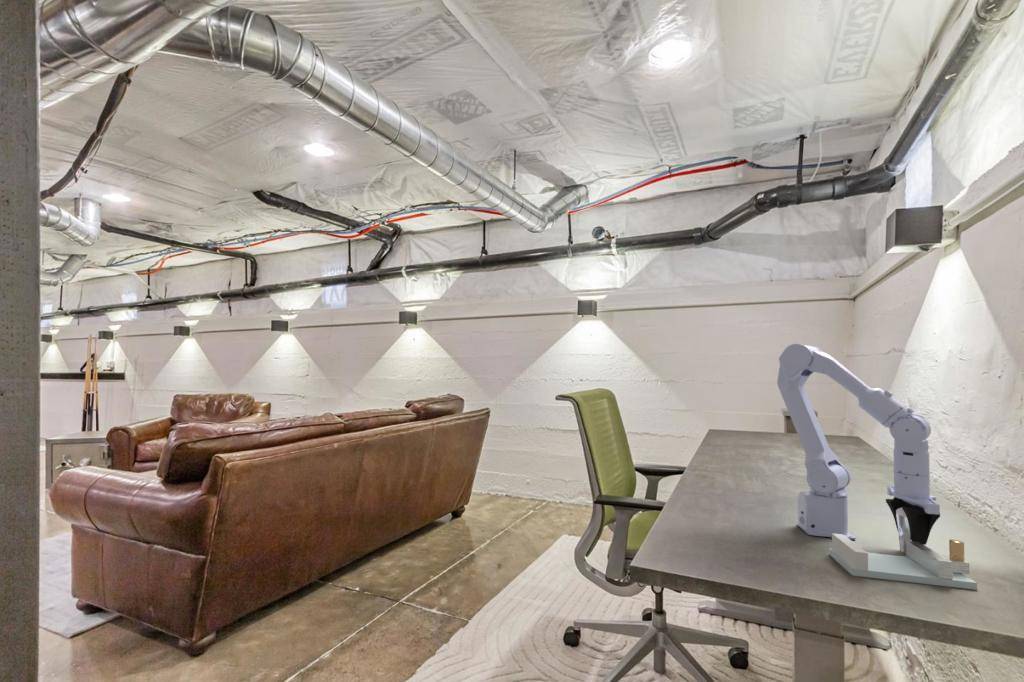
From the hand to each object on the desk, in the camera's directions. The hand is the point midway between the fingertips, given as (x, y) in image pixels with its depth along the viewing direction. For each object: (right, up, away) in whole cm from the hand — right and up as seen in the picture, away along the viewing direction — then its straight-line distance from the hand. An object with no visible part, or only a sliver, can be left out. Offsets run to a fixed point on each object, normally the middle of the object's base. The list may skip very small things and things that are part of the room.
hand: (912, 539), depth 98 cm
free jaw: (-3, -1, -11) cm, 11 cm away
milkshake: (0, -3, 0) cm, 3 cm away
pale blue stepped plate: (-10, -2, -9) cm, 14 cm away
